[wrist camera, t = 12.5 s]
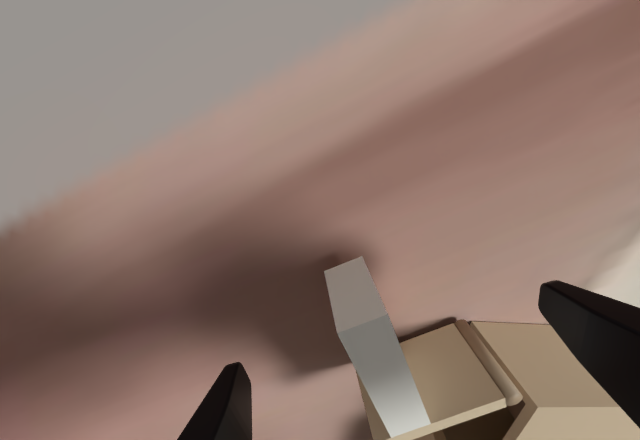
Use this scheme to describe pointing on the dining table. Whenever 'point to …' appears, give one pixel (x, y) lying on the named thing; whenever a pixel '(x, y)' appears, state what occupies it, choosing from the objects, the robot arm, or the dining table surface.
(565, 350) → the carton
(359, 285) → the flap
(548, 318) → the robot arm
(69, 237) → the dining table surface
